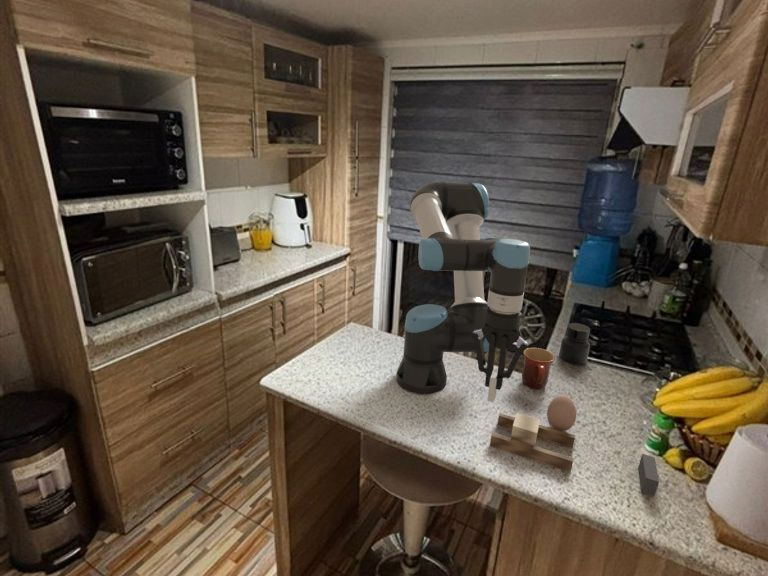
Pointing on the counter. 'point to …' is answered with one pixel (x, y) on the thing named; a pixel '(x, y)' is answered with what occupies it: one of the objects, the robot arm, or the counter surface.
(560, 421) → the egg
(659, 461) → the counter surface
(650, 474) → the block
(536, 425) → the block
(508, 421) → the chute
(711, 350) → the counter surface
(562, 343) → the ink bottle
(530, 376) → the mug
